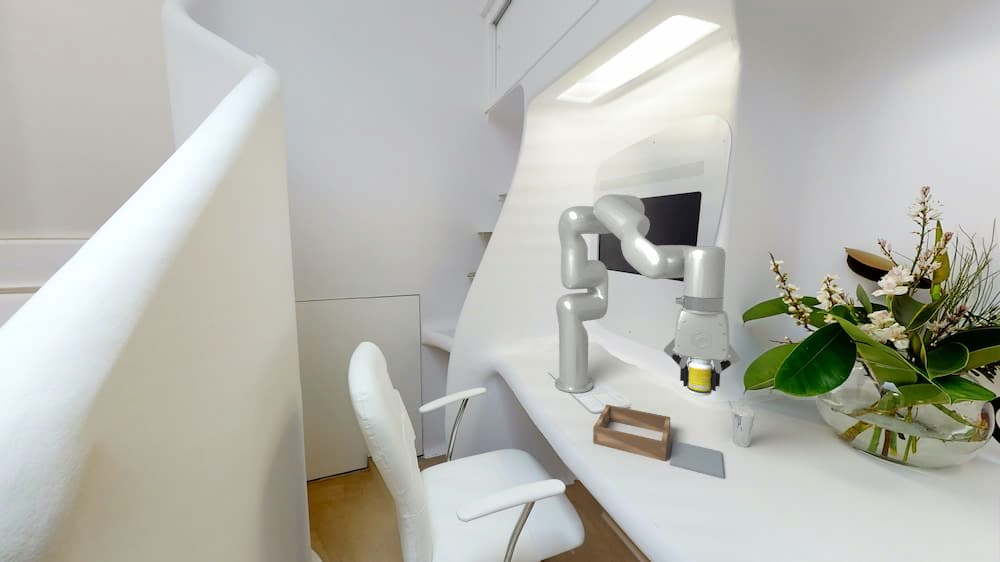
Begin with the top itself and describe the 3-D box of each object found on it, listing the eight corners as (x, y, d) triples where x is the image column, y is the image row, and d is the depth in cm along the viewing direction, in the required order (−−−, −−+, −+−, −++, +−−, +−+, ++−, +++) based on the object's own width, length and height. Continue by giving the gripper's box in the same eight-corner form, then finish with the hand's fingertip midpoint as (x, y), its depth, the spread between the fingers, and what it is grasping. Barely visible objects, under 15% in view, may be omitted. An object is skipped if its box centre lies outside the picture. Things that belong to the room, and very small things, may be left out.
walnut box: (606, 418, 100) (606, 404, 100) (669, 431, 93) (670, 417, 92) (593, 443, 88) (593, 427, 88) (665, 461, 81) (665, 444, 80)
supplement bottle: (715, 397, 77) (716, 358, 76) (690, 395, 78) (692, 357, 77) (706, 388, 81) (708, 351, 80) (684, 386, 82) (685, 350, 81)
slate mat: (672, 442, 88) (673, 440, 88) (721, 453, 83) (721, 451, 83) (669, 464, 79) (669, 462, 79) (723, 478, 74) (723, 476, 74)
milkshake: (729, 435, 91) (731, 396, 90) (754, 443, 87) (757, 403, 86) (723, 442, 88) (725, 402, 86) (750, 451, 84) (752, 409, 83)
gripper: (657, 304, 78) (655, 385, 80) (753, 310, 70) (747, 400, 72) (661, 299, 85) (658, 374, 87) (748, 304, 77) (743, 387, 79)
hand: (699, 385), depth 79 cm, fingers closed on supplement bottle, 4 cm apart
